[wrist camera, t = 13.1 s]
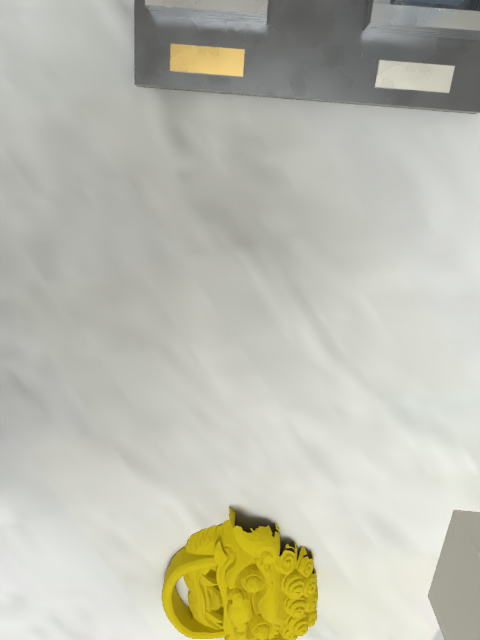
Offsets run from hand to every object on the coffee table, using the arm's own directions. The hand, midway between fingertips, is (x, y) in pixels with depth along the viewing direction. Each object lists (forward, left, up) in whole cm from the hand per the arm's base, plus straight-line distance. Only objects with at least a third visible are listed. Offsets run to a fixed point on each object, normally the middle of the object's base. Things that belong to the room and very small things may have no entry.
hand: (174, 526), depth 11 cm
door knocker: (+3, -34, -27) cm, 44 cm away
